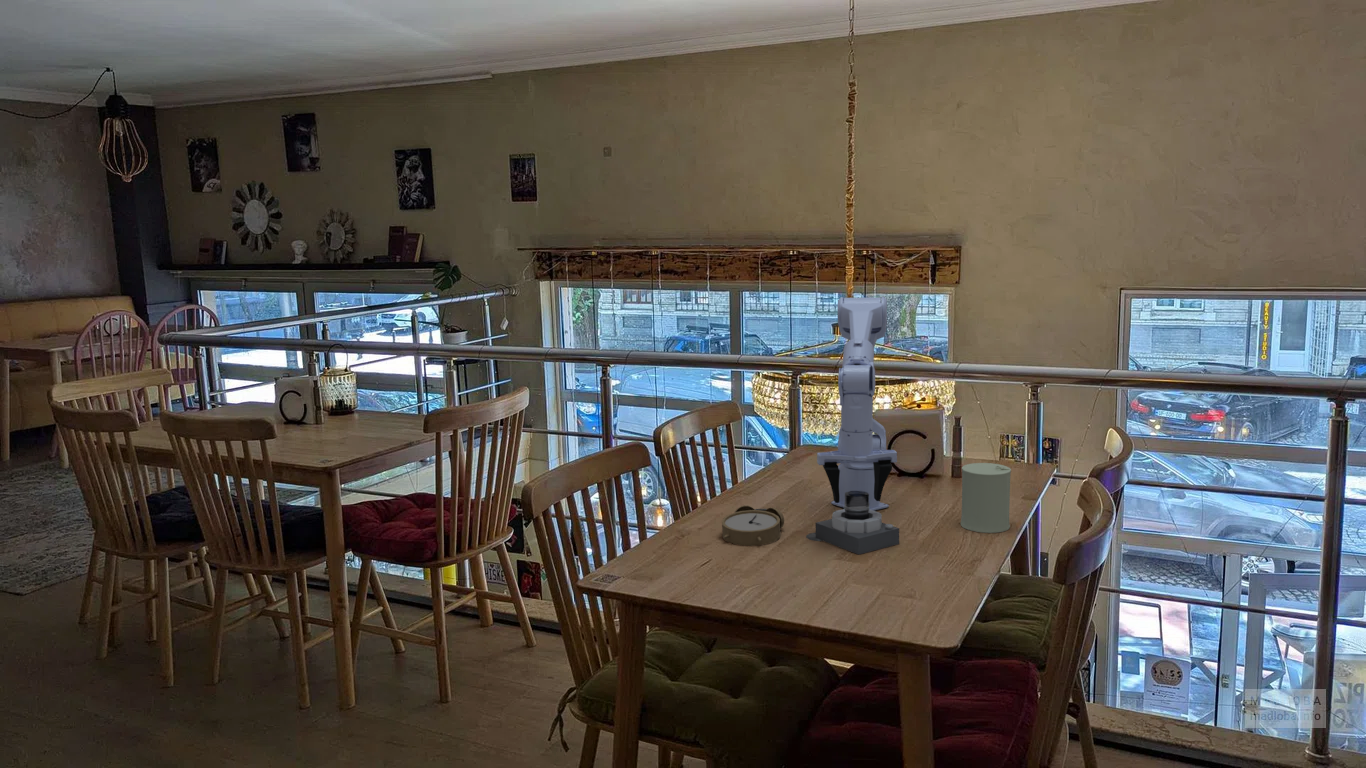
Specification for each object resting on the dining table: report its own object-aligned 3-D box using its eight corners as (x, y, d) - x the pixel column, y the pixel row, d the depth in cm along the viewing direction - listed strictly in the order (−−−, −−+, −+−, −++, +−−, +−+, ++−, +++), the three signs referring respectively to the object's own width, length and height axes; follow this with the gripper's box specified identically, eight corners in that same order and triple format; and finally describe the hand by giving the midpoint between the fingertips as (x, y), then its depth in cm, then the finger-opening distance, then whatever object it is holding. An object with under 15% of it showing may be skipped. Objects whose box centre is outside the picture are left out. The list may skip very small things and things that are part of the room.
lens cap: (800, 539, 187) (800, 535, 186) (822, 534, 189) (822, 530, 189) (817, 546, 182) (817, 542, 182) (839, 541, 185) (839, 537, 184)
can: (1012, 534, 184) (1014, 472, 182) (962, 532, 186) (963, 471, 184) (1006, 519, 193) (1008, 460, 191) (958, 518, 195) (959, 459, 193)
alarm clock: (712, 529, 183) (737, 495, 196) (715, 552, 185) (739, 517, 198) (770, 534, 179) (791, 499, 192) (771, 558, 180) (792, 521, 193)
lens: (847, 529, 180) (847, 497, 179) (842, 521, 184) (842, 490, 183) (871, 528, 180) (871, 496, 179) (866, 520, 185) (866, 489, 184)
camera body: (815, 537, 185) (815, 512, 184) (855, 528, 190) (855, 503, 189) (858, 554, 175) (858, 527, 174) (899, 543, 180) (899, 517, 179)
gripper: (821, 435, 175) (822, 508, 177) (901, 432, 175) (900, 504, 177) (814, 427, 182) (815, 497, 184) (891, 424, 182) (891, 494, 184)
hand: (856, 500), depth 181 cm, fingers open, 7 cm apart
